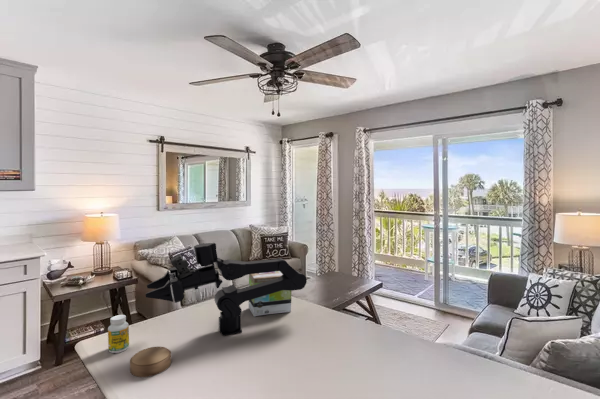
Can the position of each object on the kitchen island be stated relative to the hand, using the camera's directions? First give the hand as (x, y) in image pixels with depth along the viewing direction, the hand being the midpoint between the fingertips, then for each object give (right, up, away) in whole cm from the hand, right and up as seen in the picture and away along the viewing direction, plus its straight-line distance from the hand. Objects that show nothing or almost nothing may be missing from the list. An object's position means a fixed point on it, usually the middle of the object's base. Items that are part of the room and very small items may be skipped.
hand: (146, 290), depth 97 cm
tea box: (+35, -16, +29) cm, 48 cm away
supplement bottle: (-7, -17, -2) cm, 19 cm away
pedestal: (+7, -17, -11) cm, 21 cm away
